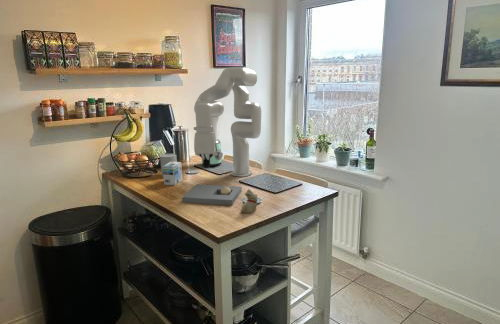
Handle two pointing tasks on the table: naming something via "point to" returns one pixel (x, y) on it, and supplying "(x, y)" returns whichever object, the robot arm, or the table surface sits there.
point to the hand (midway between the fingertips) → (207, 167)
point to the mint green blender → (216, 159)
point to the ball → (225, 191)
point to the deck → (211, 195)
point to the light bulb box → (172, 173)
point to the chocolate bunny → (249, 202)
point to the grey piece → (167, 160)
